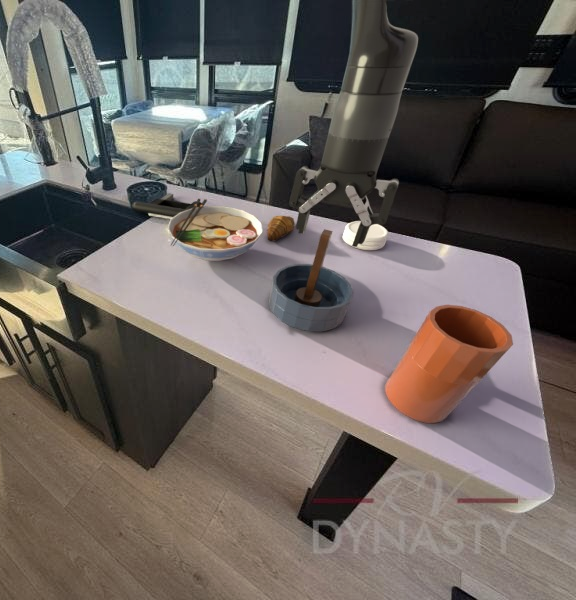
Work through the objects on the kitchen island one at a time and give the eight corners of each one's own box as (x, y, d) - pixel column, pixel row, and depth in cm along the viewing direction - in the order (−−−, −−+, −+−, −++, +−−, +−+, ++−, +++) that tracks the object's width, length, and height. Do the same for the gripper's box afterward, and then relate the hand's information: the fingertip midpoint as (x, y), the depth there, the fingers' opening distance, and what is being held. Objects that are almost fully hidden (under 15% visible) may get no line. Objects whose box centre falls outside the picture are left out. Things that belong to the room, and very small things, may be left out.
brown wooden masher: (321, 301, 66) (345, 230, 56) (314, 315, 63) (338, 242, 53) (297, 294, 68) (316, 223, 58) (290, 306, 65) (308, 234, 55)
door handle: (153, 188, 111) (128, 204, 100) (208, 196, 105) (189, 214, 93) (153, 198, 113) (129, 214, 102) (208, 206, 107) (189, 225, 95)
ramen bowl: (249, 288, 71) (253, 256, 66) (152, 270, 78) (149, 239, 72) (266, 235, 89) (270, 206, 84) (186, 224, 96) (186, 197, 90)
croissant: (278, 220, 96) (281, 204, 93) (301, 226, 92) (305, 209, 89) (257, 239, 88) (259, 222, 84) (281, 246, 84) (284, 229, 81)
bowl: (350, 300, 67) (359, 276, 63) (333, 344, 58) (343, 320, 54) (282, 279, 73) (287, 256, 70) (257, 316, 64) (261, 292, 60)
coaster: (333, 236, 88) (337, 223, 85) (364, 229, 90) (368, 217, 88) (361, 254, 80) (365, 241, 78) (393, 246, 83) (399, 234, 80)
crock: (448, 390, 50) (509, 318, 41) (447, 433, 45) (516, 363, 35) (388, 368, 54) (431, 297, 44) (381, 405, 48) (427, 334, 39)
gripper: (297, 131, 45) (278, 237, 55) (418, 142, 39) (371, 260, 49) (312, 121, 50) (292, 220, 60) (422, 129, 43) (378, 238, 54)
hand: (327, 238), depth 54 cm, fingers open, 8 cm apart
